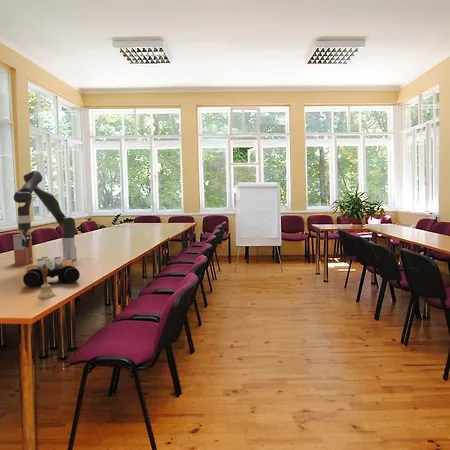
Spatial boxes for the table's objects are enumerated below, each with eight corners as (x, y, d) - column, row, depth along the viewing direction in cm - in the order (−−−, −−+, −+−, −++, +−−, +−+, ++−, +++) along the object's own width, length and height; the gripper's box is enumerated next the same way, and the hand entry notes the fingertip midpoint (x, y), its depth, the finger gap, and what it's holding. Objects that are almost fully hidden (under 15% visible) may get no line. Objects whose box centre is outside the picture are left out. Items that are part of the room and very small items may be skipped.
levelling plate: (62, 265, 288) (61, 254, 287) (70, 268, 275) (69, 257, 274) (25, 270, 272) (24, 258, 272) (33, 274, 259) (32, 261, 259)
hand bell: (33, 297, 198) (31, 265, 197) (46, 293, 206) (44, 262, 204) (46, 298, 195) (44, 266, 194) (59, 294, 203) (57, 263, 202)
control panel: (19, 261, 311) (35, 262, 306) (12, 263, 304) (27, 264, 299) (17, 234, 309) (33, 234, 304) (10, 235, 303) (26, 235, 298)
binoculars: (23, 289, 215) (22, 270, 215) (25, 284, 234) (24, 267, 234) (80, 283, 226) (79, 265, 226) (78, 279, 245) (77, 263, 245)
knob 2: (55, 267, 271) (55, 257, 270) (53, 266, 275) (52, 257, 274) (73, 265, 279) (72, 255, 278) (70, 264, 282) (70, 255, 282)
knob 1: (43, 268, 271) (43, 258, 270) (46, 268, 267) (45, 259, 266) (24, 270, 263) (23, 260, 262) (26, 271, 259) (26, 261, 259)
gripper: (33, 222, 263) (34, 247, 264) (27, 221, 274) (28, 245, 275) (20, 223, 258) (22, 248, 259) (15, 222, 269) (16, 246, 270)
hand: (25, 246), depth 267 cm, fingers open, 8 cm apart
